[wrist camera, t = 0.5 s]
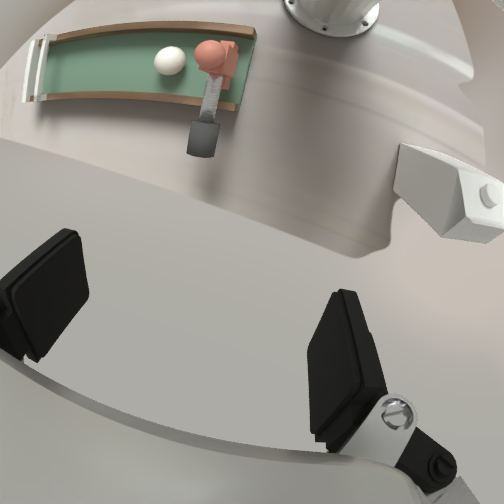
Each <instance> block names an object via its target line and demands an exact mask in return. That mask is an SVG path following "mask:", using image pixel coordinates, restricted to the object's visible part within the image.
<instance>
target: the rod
mask: <svg viewBox="0 0 504 504" xmlns="http://www.w3.org/2000/svg"><path fill="white" fill-rule="evenodd" d="M238 49H239V47H238V46H237V44H236V43H235V42H231V41H222V40H221V42H220V43H219V42H217V41H214V40H208V41H204V42H202V43H200V44H199V45H198V46H197V47H196V49H195V52H194V58H195V61H196V62H197V64H199V68H198V70H201V71H204V72H206V73H208V77H207V81H206V86H205V91H204V95H203V100H202V105H201V110H200V116H199V121H197V120H193V121H192V122H191V128H190V134H189V140H188V146H187V152H186V153H187V154H189V155H192V156H196V157H203V158H210V157H214V153H215V148H216V143H217V138H218V133H219V128H220V124H217V123H214V119H215V114H216V109H217V104H218V99H219V95H220V90H221V89H223V90H229V86H230V82H231V78H234V73H235V69H236V65H237V61H238V57H239V54H238Z"/></svg>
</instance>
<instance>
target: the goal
mask: <svg viewBox="0 0 504 504" xmlns="http://www.w3.org/2000/svg"><path fill="white" fill-rule="evenodd" d="M56 40H57V35H54V34H45V35H44V38H43V42H42V45H38V44H39V40H33V41H31V44H30V49H29V54H28V59H27V65H26V71H25V78H24V85H23V94H22V103H25V102H30V96H33V95H34V100H33V102H38V101H44V100H47V94H43V95H41V94H42V90H43V82H44V75H45V69H46V63H47V57H48V52H49V47H50V46H48V45H49V41H56Z"/></svg>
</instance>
